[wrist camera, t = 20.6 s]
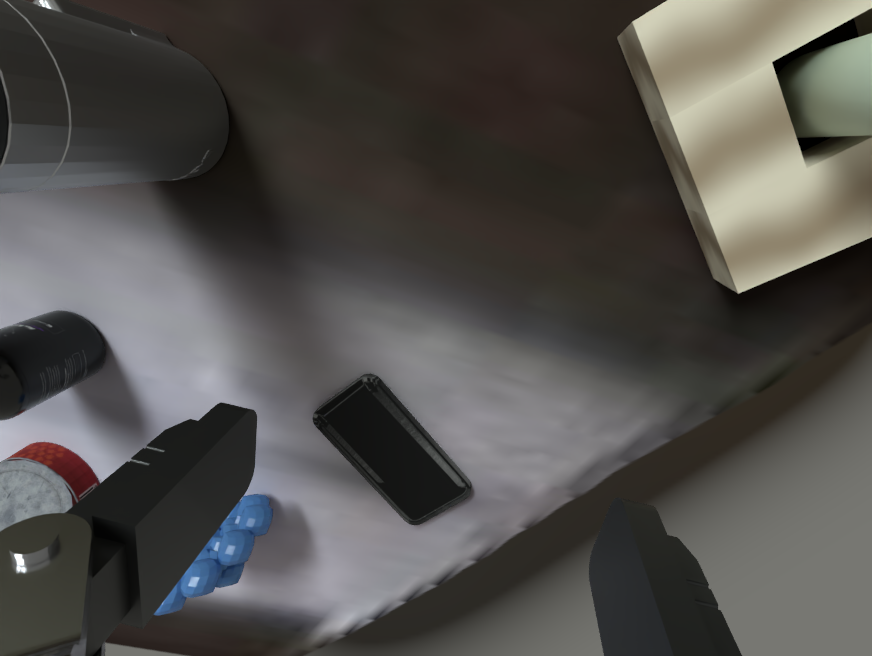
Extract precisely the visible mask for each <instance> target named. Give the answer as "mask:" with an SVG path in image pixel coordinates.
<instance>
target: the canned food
mask: <svg viewBox="0 0 872 656" xmlns="http://www.w3.org/2000/svg"><path fill="white" fill-rule="evenodd" d="M98 485H99V481H98V479H97V477H96V475H95V473H94V472H93V470H92V469H91V467H90V466H89V465H88V464H87V463H86V462H85V461H84V460H83V459H82V458H81V457H80V456H78V455H77V454H76V453H74V452H72V451H71V450H69V449H67V448H65V447H63V446H61V445H58V444H54V443H49V442H36V443H33V444H30V445H28V446H26V447H25V448H23V449H22V450H20V451H18V452H17V453H15V454H14V455H12V456H10V457H9V458H7V459H5V460H3V461H1V462H0V531H2V530H3V529H5V528H7V527H9V526H11V525H13V524H15V523H17V522H20V521H22V520H25V519H28V518H31V517H34V516H39V515H43V514H50V513H65V512H67V511H68V510H69V509H70V508H72V507H73V506H74V505H75V504H76V503H78V502H79V501H80V500H81V499H82V498H84V497H85V496H86V495H87V494H89V493H90V492H91V491H92V490H93V489H95V488H96V487H97V486H98Z"/></svg>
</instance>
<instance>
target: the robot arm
mask: <svg viewBox="0 0 872 656" xmlns="http://www.w3.org/2000/svg"><path fill="white" fill-rule="evenodd" d="M228 133H229V115H228V110H227V106H226V102H225V99H224V96H223V94H222V92H221V89H220V87H219V85H218V84H217V82H216V80H215V79H214V77H213V76H212V74H211V73H210V72H209V71H208V70H207V69H206V68H205V66H204V65H203V64H202V63H201V62H199V61H198V60H197V59H195V58H194V57H193V56H191V55H190V54H188V53H186V52H184V51H181V50H179V49H177V48H176V47H174V46H173V45H172V44H171V43H170V42H169V40H168V39H167V37H166V36H165V34H164V33H161V32H158V31H155V30H152V29H149V28H147V27H144V26H141V25H138V24H135V23H132V22H129V21H126V20H124V19H121V18H118V17H115V16H112V15H109V14H106V13H103V12H100V11H98V10H95V9H92V8H89V7H86V6H83V5H80V4H77V3H75V2H72V1H69V0H35V1H34V2H33V3H31V2H27V1H24V0H0V194H5V193H15V192H27V191H39V190H52V189H64V188H76V187H88V186H101V185H113V184H125V183H137V182H150V181H163V180H168V181H171V180H179V179H187V178H192V177H196V176H200V175H201V174H203V173H205V172H207V171H209V170H210V169H211V168H212V167H213V166H214V165H215V164H216V163H217V162H218V160H219V159H220V157H221V156H222V154H223V152H224V149H225V147H226V144H227V140H228ZM256 429H257V415H256V412H255V411H254V410H251V409H247V408H243V407H239V406H234V405H230V404H226V403H219V404H217V405H216V406H215V407H213V408H212V409H211V410H210V411H209V412H208V413H207V414H205V415H204V416H203V417H202V418H201V419H200V420H199V421H196V420H192V419H189V420H187V421H184V422H182V423H180V424H178V425H175V426H173V427H171V428H168V429H166V430H165V431H163V432H162V433H161V434H160V435H159V436H157V437H156V438H155V439H154V440H152V441H151V442H150V443H149V444H148V445H147V447H146V448H145V449H144V448H143V449H142V450H140V451H139V452H138V453H137V454H136V455H134V456H133V457H132V458H131V461H130V462H128V461H127V462H126V463H125V464H124V465H122V466H121V467H120V468H119V469H117V470H116V471H115V472H114V473H113V474H111V475H110V476H109V477H108V478H107V479H105V480H104V481H103V482H102V483H101V484H99V485H98V486H97V487H96V488H95V489H93V490H92V491H91V492H90V493H89V494H87V495H86V496H85V497H84V498H82V499H81V500H80V501H79V502H78V503H76V504H75V505H74V506H73V507H72V508H70V509H69V510H68V511H67V512H65V513H50V514H43V515H39V516H34V517H31V518H28V519H25V520H22V521H20V522H17V523H15V524H13V525H11V526H9V527H7V528H5V529H3V530H2V531H0V656H105V641H106V639H107V638H108V637H109V636H110V634H111V633H112V632H113V631H114V629H115V628H116V627H117V626H118V625H119V623H122V624H126V625H130V626H133V627H137V628H141V629H143V628H144V627H145V625H146V624H147V623H148V621H149V620H150V619H151V617H152V616H153V615H154V613H155V612H156V611H157V609H158V608H159V607H160V605H161V604H162V603H163V601H164V600H165V599H166V597H167V596H168V595H169V594H170V592H171V591H172V590H173V588H174V587H175V586H176V584H177V583H178V582H179V580H180V579H181V578H182V576H183V575H184V574H185V572H186V571H187V570H188V568H189V567H190V566H191V564H192V563H193V562H194V560H195V559H196V558H197V556H198V555H199V554H200V552H201V551H202V550H203V548H204V547H205V546H206V544H207V543H208V542H209V540H210V539H211V538H212V536H213V535H214V534H215V533H216V531H217V530H218V529H219V527H220V526H221V525H222V523H223V522H224V521H225V519H226V518H227V517H228V515H229V514H230V513H231V511H232V510H233V509H234V507H235V506H236V505H237V503H238V502H239V501H240V499H241V498H242V497H243V495H244V494H245V492H246V491H247V489H248V487H249V485H250V482H251V480H252V477H253V473H254V468H255V451H256ZM589 580H590V586H591V591H592V596H593V601H594V606H595V611H596V617H597V621H598V627H599V632H600V637H601V642H602V647H603V653H604V656H742V655H741V653H740V651H739V648H738V646H737V644H736V642H735V640H734V638H733V636H732V633H731V631H730V629H729V627H728V625H727V623H726V621H725V618H724V616H723V614H722V612H721V611H720V610H718V603H717V601H716V599H715V597H714V595H713V593H712V591H711V589H709V588H708V585H709V584H708V582H707V580H706V578H705V576H704V574H703V571H702V569H701V567H700V565H699V563H698V561H697V559H696V558H695V557H694V556H693V555H692V554H691V552H690V551H689V550H688V549H687V548H686V547H685V546H684V545H683V543H682V542H681V541H680V540H679V539H678V538H677V537H673V536H669V535H667V533H666V531H665V528H664V526H663V524H662V521H661V519H660V516H659V514H658V512H657V510H656V508H655V507H654V506H651V505H647V504H642V503H638V502H634V501H630V500H626V499H621V498H615V499H614V500H613V502H612V503H611V506H610V508H609V510H608V513H607V515H606V518H605V520H604V522H603V525H602V527H601V530H600V532H599V535H598V537H597V540H596V542H595V544H594V547H593V550H592V553H591V557H590V564H589Z"/></svg>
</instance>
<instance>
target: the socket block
mask: <svg viewBox="0 0 872 656" xmlns="http://www.w3.org/2000/svg"><path fill="white" fill-rule="evenodd" d="M852 18H854V21H855V24H856V28H857V32H858V35H859V37H861V36H864V35H867V34H870V33H872V0H667V1H666V2H664V3H662V4H661V5H659V6H658V7H656V8H654V9H653V10H651V11H649V12H648V13H646V14H645V15H643V16H641V17H640V18H638V19H636V20H635V21H633V22H632V23H631V24H630V25H629V26H628V27H627V28H626V29H625V30H624V31H623V32H622V33H621V34H620V35H619V36H618V37H617V39H618V42H619V44H620V47H621V49H622V52H623V54H624V57H625V59H626V62H627V64H628V67H629V69H630V72H631V74H632V77H633V79H634V81H635V84H636V86H637V89H638V91H639V94H640V96H641V99H642V101H643V104H644V106H645V109H646V111H647V114H648V116H649V119H650V121H651V124H652V126H653V129H654V131H655V134H656V136H657V139H658V141H659V144H660V146H661V149H662V151H663V154H664V156H665V159H666V161H667V164H668V166H669V169H670V171H671V174H672V176H673V179H674V181H675V184H676V186H677V189H678V191H679V194H680V196H681V199H682V201H683V204H684V206H685V209H686V211H687V214H688V216H689V219H690V221H691V224H692V226H693V229H694V231H695V234H696V236H697V239H698V241H699V244H700V246H701V248H702V251H703V253H704V256H705V258H706V261H707V263H708V266H709V268H710V271H711V273H712V276H713V278H714V279H715V280H717V281H718V282H720V283H722V284H723V285H725V286H727V287H728V288H730V289H731V290H733V291H735V292H736V293H738V294H739V293H741V292H743V291H746V290H748V289H751V288H753V287H755V286H758V285H760V284H762V283H765V282H767V281H769V280H772V279H774V278H777V277H779V276H781V275H784V274H786V273H788V272H791V271H793V270H795V269H798V268H800V267H803V266H805V265H807V264H810V263H812V262H814V261H817V260H819V259H822V258H824V257H826V256H829V255H831V254H833V253H836V252H838V251H840V250H843V249H845V248H848V247H850V246H852V245H855V244H857V243H859V242H862V241H864V240H866V239H869V238H871V237H872V135H866V136H837V137H831V138H829V139H827V140H825V141H823V142H821V143H819V144H817V145H815V146H813V147H811V148H809V149H807V150H805V151H803V152H801V150H800V147H799V144H798V140H797V137H796V134H795V131H794V128H793V125H792V122H791V119H790V116H789V113H788V110H787V107H786V104H785V101H784V97H783V94H782V91H781V88H780V85H779V82H778V79H777V76H776V73H775V70H774V67H773V64H772V62H773V61H775V60H777V59H779V58H781V57H782V56H784V55H786V54H788V53H790V52H792V51H793V50H795V49H797V48H799V47H801V46H803V45H804V44H806V43H808V42H810V41H812V40H814V39H815V38H817V37H819V36H821V35H823V34H825V33H827V32H828V31H830V30H832V29H834V28H836V27H838V26H839V25H841V24H843V23H845V22H847V21H849V20H850V19H852Z"/></svg>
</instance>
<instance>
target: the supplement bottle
mask: <svg viewBox="0 0 872 656" xmlns="http://www.w3.org/2000/svg"><path fill="white" fill-rule="evenodd" d="M104 359H105V348H104V344H103V341H102V339H101V337H100V335H99V333H98V332H97V330H96V329H95V328H94V327H93V326H92V325H91V324H90V323H89V322H88V321H87V320H86V319H84V318H83V317H81V316H79V315H77V314H74V313H72V312H68V311H53V312H49V313H46V314H43V315H40V316H37V317H34V318H31V319H28V320H25V321H22V322H19V323H17V324H14V325H11V326H8V327H5V328H2V329H0V420H7V419H10V418H13V417H15V416H17V415H19V414H21V413H23V412H25V411H27V410H29V409H31V408H33V407H35V406H36V405H38V404H40V403H42V402H44V401H46V400H48V399H50V398H51V397H53V396H55V395H57V394H59V393H61V392H63V391H65V390H66V389H68V388H70V387H72V386H74V385H76V384H78V383H80V382H81V381H83V380H85V379H87V378H89V377H91V376H92V375H94V374H95V373H97V372H98V371H99V370H100V368H101V367H102V365H103V363H104Z"/></svg>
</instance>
